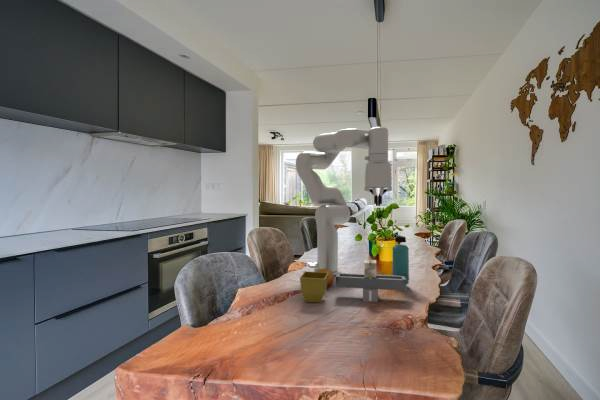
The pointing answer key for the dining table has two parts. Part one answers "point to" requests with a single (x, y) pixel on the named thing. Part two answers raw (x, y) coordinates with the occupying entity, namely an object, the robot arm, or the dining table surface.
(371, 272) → the rider
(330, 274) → the fruit
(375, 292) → the beam
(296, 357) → the dining table surface
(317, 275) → the flower pot
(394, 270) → the beverage bottle
